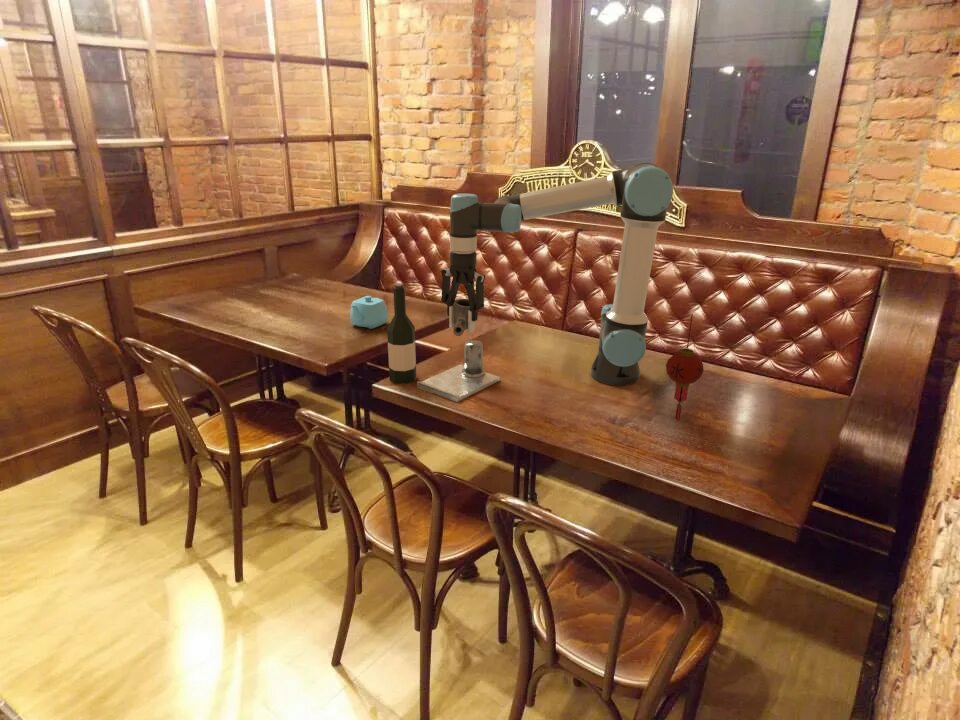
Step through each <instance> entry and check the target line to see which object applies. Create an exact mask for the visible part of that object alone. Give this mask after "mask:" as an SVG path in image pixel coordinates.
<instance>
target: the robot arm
mask: <svg viewBox="0 0 960 720" xmlns="http://www.w3.org/2000/svg"><path fill="white" fill-rule="evenodd" d="M673 184H674V183H673V181H672V178H671V176H670V174H669V173H668V172H667V171H666V170H664V168H662V167H659V166H658V165H656V164H654V163H650V162H641V163H637V164H634V165H631V166H629V167H625V168H622V169H617V170H613V171H610V173H609V174H608V175H607V176H602V177H597V178H592V179H588V180H587V179H586V180H582V181H579V182H573V183H568V184H563V185H562V184H561V185H557V186H554V187H548V188H542V189H539V190H535V191H533V190H532V191H530V192H529V191H528V192H523V193H520V194H514V195H503V196H499V197H498V198H497V199H495V201H494V202H480V201H479V198H478V195H477V194H474V193H454V194H453V195H452V196H451V197H450V210H449V229H450V230H449V249H450V251H449V264H450V267H449V268H448V267H447V268H444V269H443V268H442V269H441V270H440V272H441V273H440V274H441V277H442V282H441V297H440V298H441V299H440V300H441V303H444V304H445V305H446V306H447V309H446V310H447V312H446V313H447V316H448V317H449V318H448V322H449V324H448V325H449V329H453V327H454V325H455V301H456V300H457V295H458V292H459V289H460V286H461V284H462V285H463V286H464V289H465V290H466V291H465V292H466V295H467V299H469V304H470V308H471V309H470V310H469V311H468V329H467V333H472V332H474V331H475V330H476V322H477V321H478V318H479V316H478V315H479V314H478V313H479V310H482V309H484V308H485V290H484V289H485V288H484V286H485V285H484V284H485V283H484V282H485V279H486V275H485V274H480V273H478V271H477V268H476V266H477V257H478V256H477V254H478V253H477V252H476V250H477V248H478V247H477V245H478V244H477V243H478V241H477V240H478V231H480V232H481V231H482V232H483V231H486V232H501V233H507V234H508V233H518V232H519V231H520V230H521V225H522V221H526V220H531V219H537V218H541V217H548V216H553V215H559V214H562V213H569V212H573V211H580V210H585V209H589V208H595V207H598V206H599V207H600V206H604V205H613V206H615V207H619V206H621V209H620V217H619V218H620V219H621V220H622V222H623V223H624V228H623V233H622V234H623V236H622V243H621V249H620V255H619V256H620V257H619V261H618V270H617V276H616V283H615V290H614V296H613V303H610V304H605V305H604V306H602V308H601V313H600V316H601V318H600V325H599V326H600V329H599V339H598V341H599V342H598V351H597V354H596V356H595V359H594V361H593V363H592V365H591V368H590V376H591V377H592V379H594V380H596V381H598V382H600V383H602V384H606V385H611V386H628V385H633V384H636V383H638V381H640V379H641V368H640V365H639V362H640V361H641V360H642V359H643V357H644V355H645V354H646V349H647V342H646V334H647V330H648V329H647V328H648V323H649V318H648V317H647V315H646V314H645V313H644V312H645V306H646V301H647V296H648V294H647V293H648V290H649V282H650V279H651V278H650V277H651V271H652V265H653V259H654V253H655V248H656V241H657V236H658V230H659V229H658V228H659V227H660V226H661V225H663V224H664V223H665V222H666V217H667V212H668V207H669V205H670V203H671V201H672V198H673V196H674V195H673V194H674V185H673ZM451 277H452V280H451Z"/></svg>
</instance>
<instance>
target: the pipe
mask: <svg viewBox="0 0 960 720" xmlns="http://www.w3.org/2000/svg"><path fill="white" fill-rule="evenodd" d="M454 304H455V325H454V327H453V328H452V330H453V334H454V335H455V337H461V336H462V335H463V334H464V333H465V331H466V330H467V331H468V311H469V310H470V309H471V308H470V304H469V299H468V298H458V299H457V298H456V299H455V302H454Z"/></svg>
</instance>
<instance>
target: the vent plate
mask: <svg viewBox="0 0 960 720" xmlns="http://www.w3.org/2000/svg"><path fill="white" fill-rule="evenodd" d="M483 345H484V344H483V341H480V340H476V339H470V340H466V341H465V342H464V347H463V348H464V349H463V351H464V355H463V356H464V360H463V361H464V364H457V365H455V366H453V367H451V368H449V369H447V370H444V371H442V372H440V373H437V374H436V375H432V376H431V377H429V378H427V379H424V380H422V381H419V380H418V381H417V382H416V387H417V388H418V389H420V390H423V391H426V392H428V393H431V394H433V395H436V396H439V397H441V398H445V399H447V400H450V401H454V402H456V403H459V402H461V401H462V400H465V399H466V398H468V397H470V396H472V395H474V394H476V393H478V392H480V391H482V390H484V389H486V388H488V387H489V386H492V385H494V384H495V383H497V382H500V379H501V378H500V376H497V375H495V374H492V373H489V372H486V370H485V369H484V368H483V361H484V360H483V356H484V355H483V354H484V353H483V352H484V350H483V347H484V346H483Z"/></svg>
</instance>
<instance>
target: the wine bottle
mask: <svg viewBox="0 0 960 720" xmlns="http://www.w3.org/2000/svg"><path fill="white" fill-rule="evenodd" d="M392 289H393V290H392V291H393V309H394V315H393V318H392V319H391V321H390V322H389V325H388V327H387V328H386V332H387V333H386V334H387V335H386V337H387V353H388V355H387V356H388V371H389V373H388V374H389V376H388V377H389V381H390V382H393V383H394V384H401V385H405V384H410V383H413V382H415V380H416V379H417V360H416V359H417V358H416V357H417V355H416V333H415V332H416V330H415V325H414V324H413V322H412V321H411V320H410V318H409V316H408V315H407V309H406V308H407V304H406V287H405V286H404V284H403V283H396V284H394V286H393V288H392Z"/></svg>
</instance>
